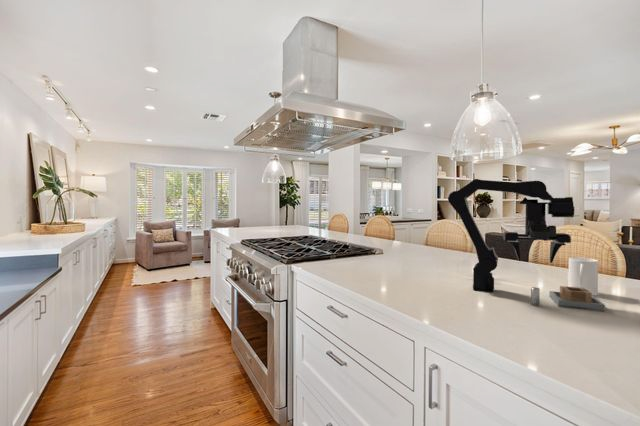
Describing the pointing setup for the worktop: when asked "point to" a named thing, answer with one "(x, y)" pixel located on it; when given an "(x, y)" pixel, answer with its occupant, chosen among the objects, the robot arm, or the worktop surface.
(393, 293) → the worktop surface
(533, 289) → the post
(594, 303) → the tray
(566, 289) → the brown square socket block
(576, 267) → the mug
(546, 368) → the worktop surface
